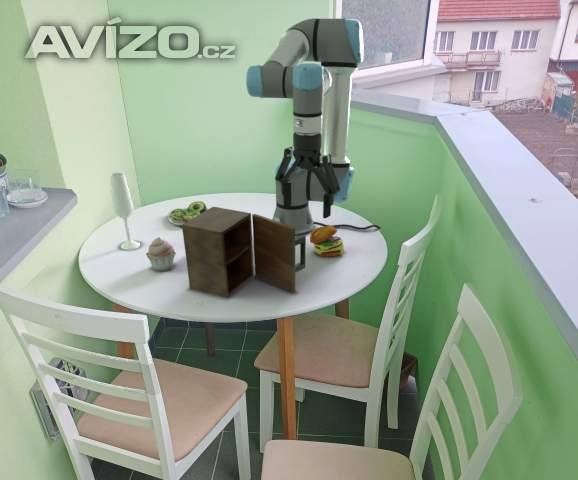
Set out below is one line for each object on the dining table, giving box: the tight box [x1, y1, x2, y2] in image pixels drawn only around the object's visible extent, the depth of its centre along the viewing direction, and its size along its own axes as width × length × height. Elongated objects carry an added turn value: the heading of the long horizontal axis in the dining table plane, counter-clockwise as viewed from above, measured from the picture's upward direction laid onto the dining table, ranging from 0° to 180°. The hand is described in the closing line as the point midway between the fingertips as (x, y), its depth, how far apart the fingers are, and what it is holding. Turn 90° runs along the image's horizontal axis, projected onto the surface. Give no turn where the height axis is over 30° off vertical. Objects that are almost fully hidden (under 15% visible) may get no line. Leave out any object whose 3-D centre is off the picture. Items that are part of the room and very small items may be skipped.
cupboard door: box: [251, 213, 307, 294], centre depth 167 cm, size 8×16×20 cm, turn 47°
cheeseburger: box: [309, 224, 345, 258], centre depth 188 cm, size 10×11×10 cm
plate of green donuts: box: [167, 200, 210, 228], centre depth 212 cm, size 19×18×5 cm
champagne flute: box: [109, 172, 141, 251], centre depth 188 cm, size 7×7×24 cm
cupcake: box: [145, 236, 177, 272], centre depth 179 cm, size 9×9×10 cm
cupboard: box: [181, 206, 255, 299], centre depth 167 cm, size 13×16×20 cm
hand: (306, 211), depth 161 cm, fingers open, 13 cm apart
